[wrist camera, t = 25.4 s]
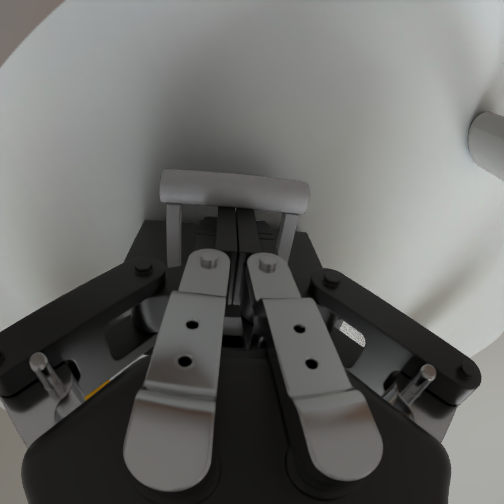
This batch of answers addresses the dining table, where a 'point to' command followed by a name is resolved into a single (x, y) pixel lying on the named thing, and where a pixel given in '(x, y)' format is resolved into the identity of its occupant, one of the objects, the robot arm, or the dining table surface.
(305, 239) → the drawer
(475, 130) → the beverage can
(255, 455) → the robot arm
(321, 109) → the dining table surface
